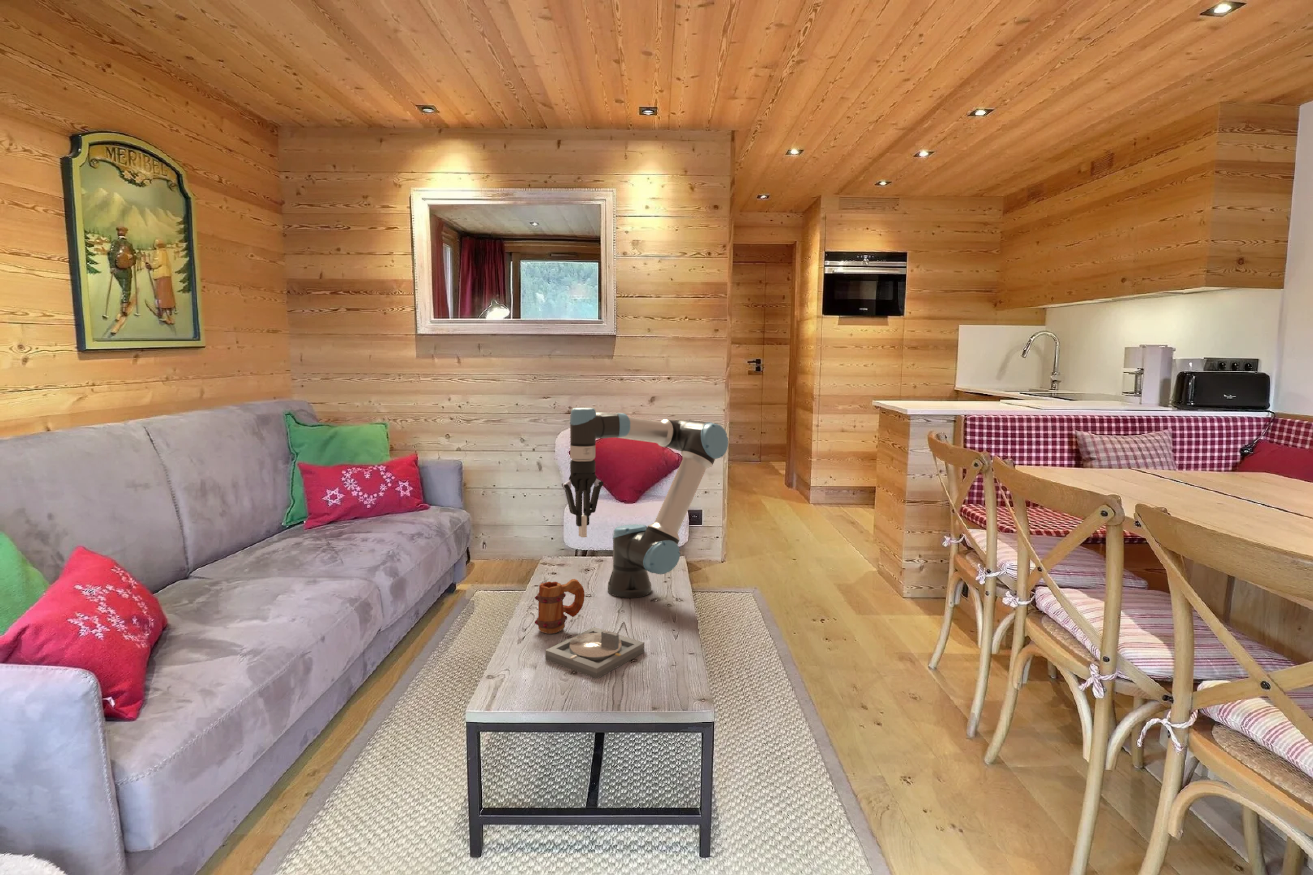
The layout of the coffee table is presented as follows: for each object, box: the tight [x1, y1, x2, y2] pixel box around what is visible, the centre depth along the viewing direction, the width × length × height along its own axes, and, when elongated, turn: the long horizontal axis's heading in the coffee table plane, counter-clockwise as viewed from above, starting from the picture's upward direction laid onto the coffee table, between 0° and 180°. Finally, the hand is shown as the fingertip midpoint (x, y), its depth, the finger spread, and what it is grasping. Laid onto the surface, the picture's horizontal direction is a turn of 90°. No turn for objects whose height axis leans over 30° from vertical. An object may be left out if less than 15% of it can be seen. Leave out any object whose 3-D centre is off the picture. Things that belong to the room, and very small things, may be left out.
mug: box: [534, 578, 586, 635], centre depth 202 cm, size 15×8×15 cm, turn 105°
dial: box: [570, 629, 622, 662], centre depth 185 cm, size 14×14×6 cm
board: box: [544, 626, 645, 680], centre depth 185 cm, size 20×18×3 cm
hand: (582, 536), depth 208 cm, fingers closed
